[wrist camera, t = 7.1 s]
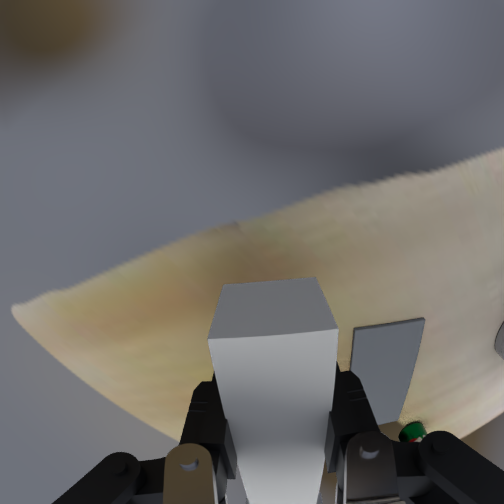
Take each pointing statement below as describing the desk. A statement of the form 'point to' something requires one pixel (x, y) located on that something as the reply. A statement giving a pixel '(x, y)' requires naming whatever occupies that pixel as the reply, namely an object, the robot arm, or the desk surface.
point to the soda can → (412, 433)
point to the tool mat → (386, 364)
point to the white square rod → (276, 384)
